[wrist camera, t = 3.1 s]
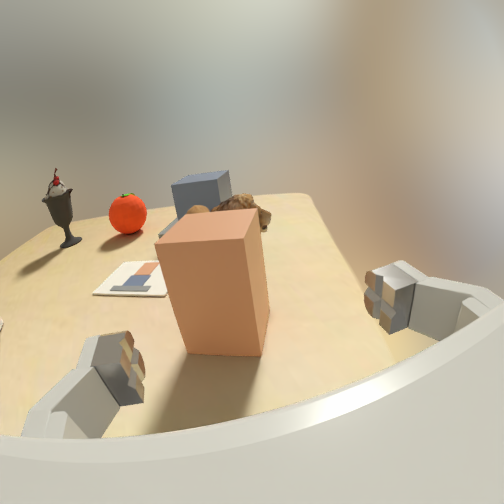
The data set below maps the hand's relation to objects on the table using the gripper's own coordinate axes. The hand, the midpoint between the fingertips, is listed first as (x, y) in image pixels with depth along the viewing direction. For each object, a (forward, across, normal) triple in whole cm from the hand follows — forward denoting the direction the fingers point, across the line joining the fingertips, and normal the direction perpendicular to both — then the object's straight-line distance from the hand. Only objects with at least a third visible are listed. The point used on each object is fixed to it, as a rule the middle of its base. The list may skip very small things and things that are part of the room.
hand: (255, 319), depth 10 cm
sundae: (+47, +27, +8) cm, 55 cm away
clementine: (+44, +13, +9) cm, 47 cm away
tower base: (+38, 0, +9) cm, 39 cm away
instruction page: (+25, +9, +9) cm, 28 cm away
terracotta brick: (+11, 0, +9) cm, 15 cm away
